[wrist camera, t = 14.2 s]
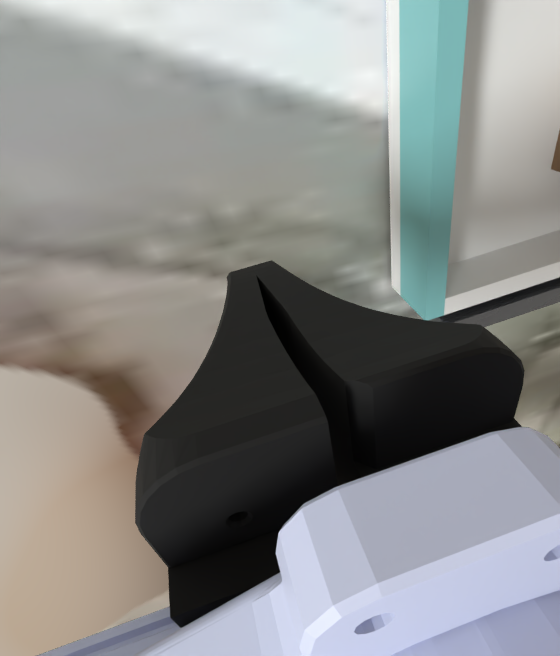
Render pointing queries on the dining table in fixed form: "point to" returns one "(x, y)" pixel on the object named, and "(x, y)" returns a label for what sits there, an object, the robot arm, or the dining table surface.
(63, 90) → the dining table surface
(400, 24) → the tray
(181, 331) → the dining table surface
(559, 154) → the walnut block
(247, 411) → the robot arm
